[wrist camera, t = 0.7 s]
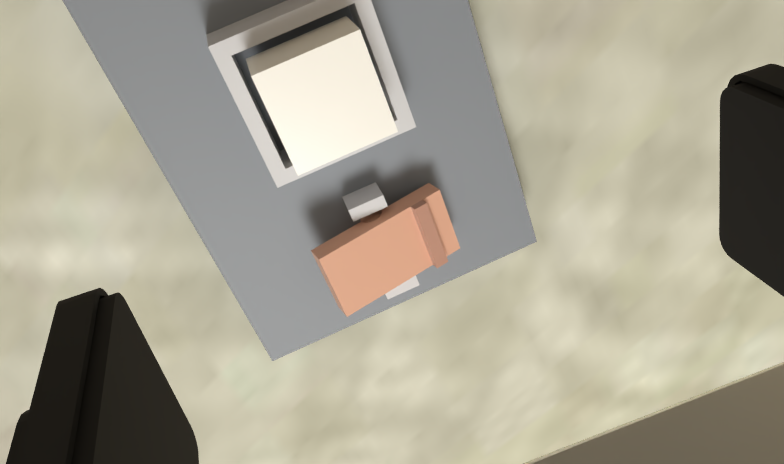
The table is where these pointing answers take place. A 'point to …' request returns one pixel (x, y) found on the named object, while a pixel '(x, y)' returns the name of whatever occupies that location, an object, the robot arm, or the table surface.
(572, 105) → the table surface
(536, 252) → the table surface
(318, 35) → the push button
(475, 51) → the switch panel
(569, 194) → the table surface
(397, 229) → the rocker paddle
